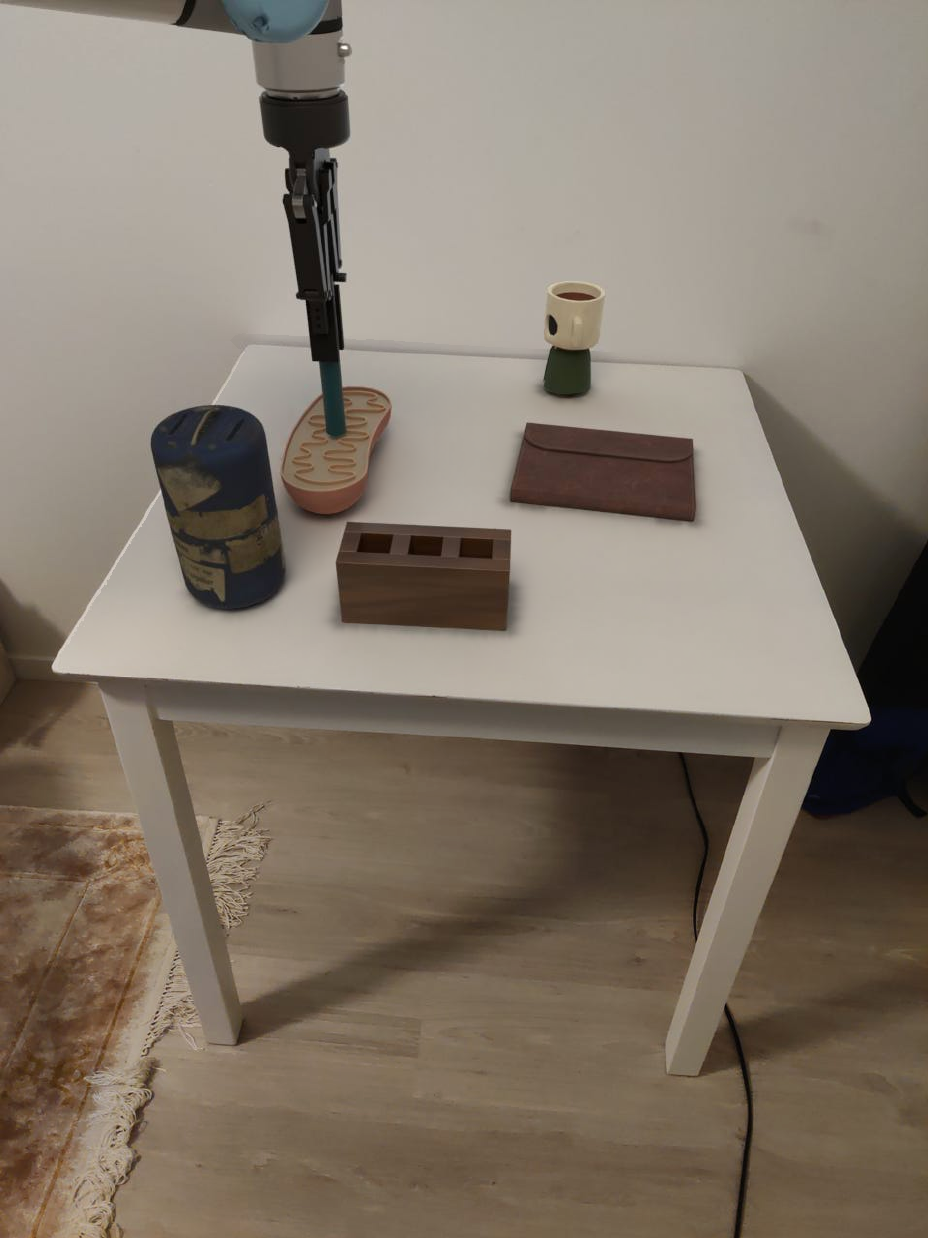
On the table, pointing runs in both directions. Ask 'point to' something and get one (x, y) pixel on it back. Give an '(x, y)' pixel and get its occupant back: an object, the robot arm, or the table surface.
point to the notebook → (606, 471)
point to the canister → (220, 504)
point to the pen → (333, 392)
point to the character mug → (571, 334)
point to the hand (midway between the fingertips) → (328, 353)
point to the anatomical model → (334, 451)
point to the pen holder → (424, 575)
